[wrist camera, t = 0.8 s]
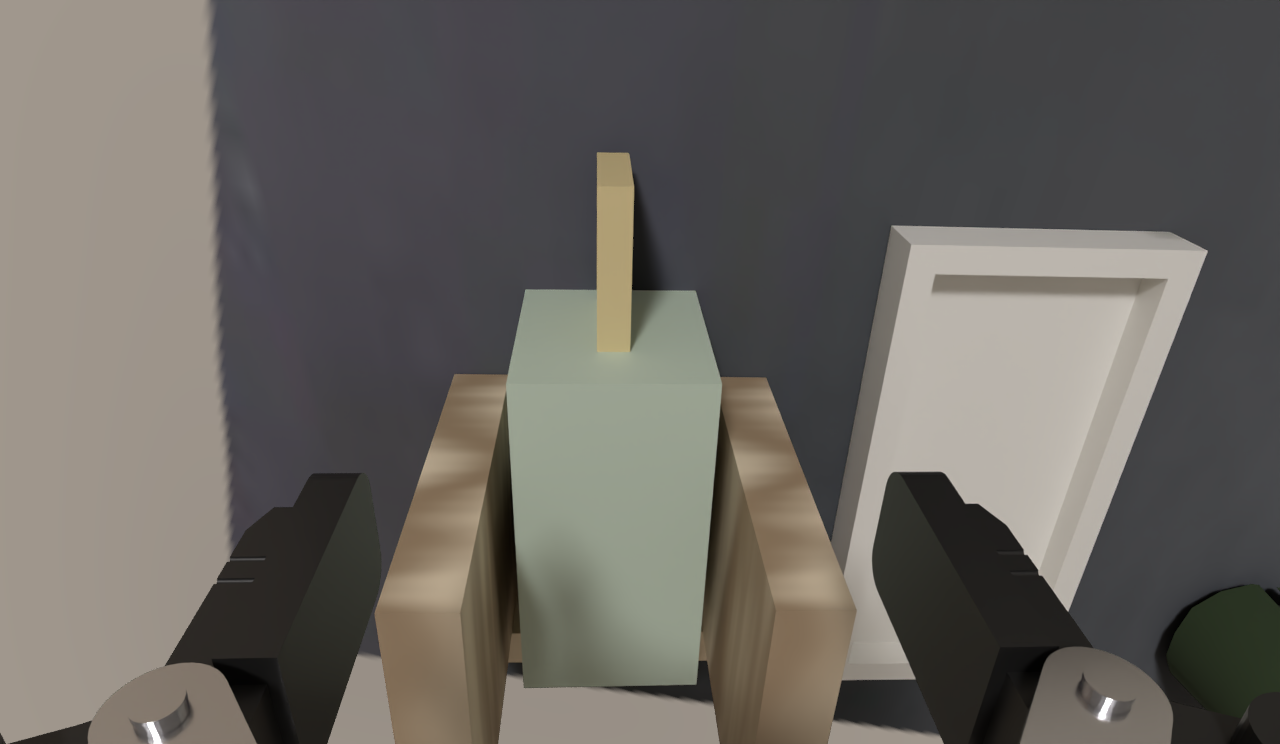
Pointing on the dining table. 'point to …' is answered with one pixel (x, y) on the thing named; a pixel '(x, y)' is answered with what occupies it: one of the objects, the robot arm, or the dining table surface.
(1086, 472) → the tray
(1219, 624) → the character mug
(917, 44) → the dining table surface
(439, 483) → the bay
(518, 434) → the green block with tab
